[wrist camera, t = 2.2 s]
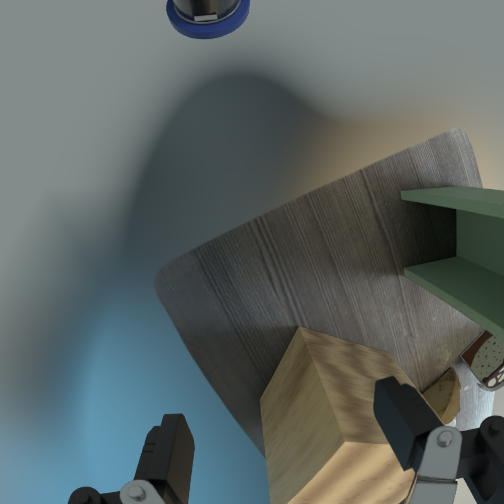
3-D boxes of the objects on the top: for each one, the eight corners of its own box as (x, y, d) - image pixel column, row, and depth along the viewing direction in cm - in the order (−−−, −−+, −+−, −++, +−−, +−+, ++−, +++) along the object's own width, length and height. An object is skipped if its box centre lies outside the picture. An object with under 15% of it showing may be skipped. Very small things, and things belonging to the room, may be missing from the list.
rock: (463, 358, 42) (422, 387, 41) (484, 395, 36) (444, 428, 35) (441, 376, 50) (403, 400, 49) (458, 408, 44) (421, 435, 43)
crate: (259, 399, 43) (272, 517, 22) (298, 325, 41) (344, 441, 20) (345, 417, 45) (385, 514, 24) (388, 352, 43) (459, 443, 22)
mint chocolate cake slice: (460, 377, 46) (487, 404, 36) (453, 361, 44) (483, 389, 35) (501, 334, 44) (531, 356, 34) (496, 316, 43) (529, 337, 33)
